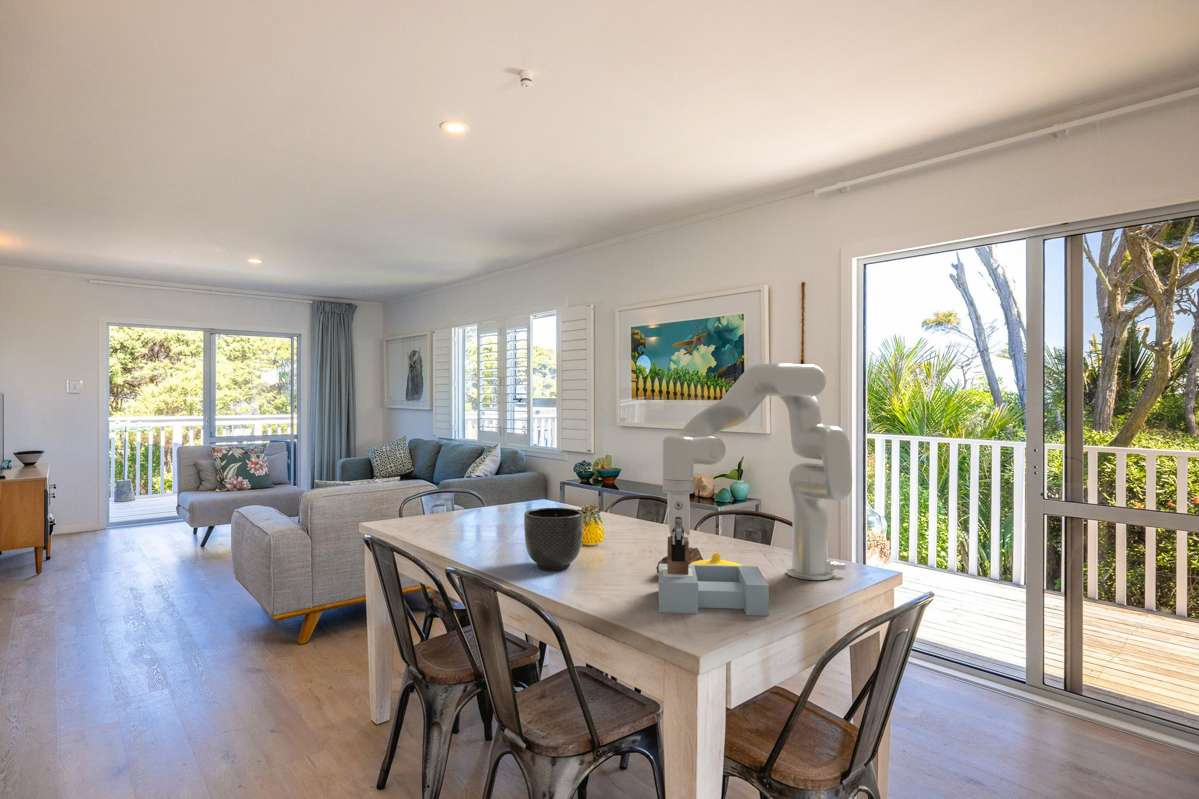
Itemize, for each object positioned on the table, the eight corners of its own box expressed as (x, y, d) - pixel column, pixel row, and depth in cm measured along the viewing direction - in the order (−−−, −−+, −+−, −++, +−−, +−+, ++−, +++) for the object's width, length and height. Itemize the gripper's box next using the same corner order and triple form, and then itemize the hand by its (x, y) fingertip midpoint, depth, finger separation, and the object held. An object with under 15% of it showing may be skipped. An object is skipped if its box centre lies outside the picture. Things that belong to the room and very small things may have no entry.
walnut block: (687, 569, 164) (687, 537, 164) (688, 574, 159) (688, 541, 159) (667, 568, 165) (667, 536, 165) (667, 574, 160) (667, 540, 160)
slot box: (757, 593, 169) (757, 565, 169) (768, 615, 152) (768, 584, 152) (658, 590, 171) (658, 562, 171) (659, 612, 154) (659, 580, 154)
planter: (594, 568, 193) (595, 513, 192) (545, 578, 182) (545, 520, 182) (560, 556, 206) (560, 505, 206) (512, 565, 195) (512, 511, 195)
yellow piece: (675, 579, 182) (675, 553, 182) (709, 569, 193) (709, 544, 193) (723, 591, 171) (723, 564, 171) (757, 580, 182) (757, 554, 182)
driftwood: (682, 585, 177) (683, 554, 177) (653, 581, 180) (654, 551, 180) (704, 565, 198) (704, 538, 198) (678, 562, 201) (678, 535, 201)
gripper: (695, 491, 153) (695, 565, 153) (691, 481, 170) (691, 548, 170) (662, 491, 154) (662, 564, 154) (662, 481, 171) (661, 547, 171)
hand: (677, 556), depth 162 cm, fingers open, 9 cm apart
